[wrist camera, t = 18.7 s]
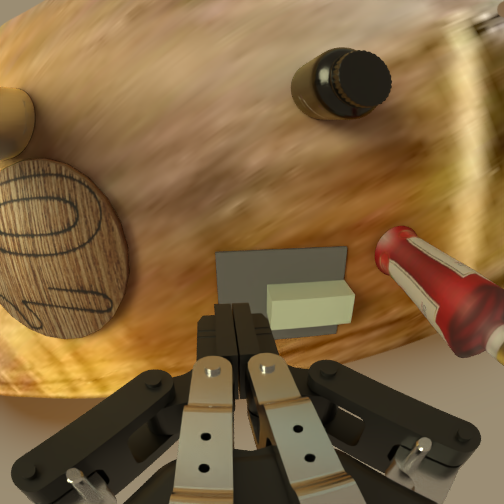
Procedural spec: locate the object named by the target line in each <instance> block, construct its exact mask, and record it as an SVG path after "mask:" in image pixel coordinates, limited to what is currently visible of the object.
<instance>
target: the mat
mask: <svg viewBox="0 0 504 504" xmlns="http://www.w3.org/2000/svg"><path fill="white" fill-rule="evenodd" d="M215 255H216V272H217V287H218V302H219V304H229V303H231V309H232V303H249V306H250V310H251V314H253V313H262V314H263V315H264V316H265V317H266V318H267V319H268V315H267V285H270V284H288V283H305V282H321V281H336V280H344V273H345V264H346V255H347V247H346V246H338V247H315V248H292V249H269V250H246V251H223V252H215ZM268 321H269V320H268ZM337 325H338V324H336V325H326V326H316V327H305V328H293V329H281V330H271V331H272V334H273V337H274V339H287V338H298V337H308V336H318V335H327V334H336V331H337Z"/></svg>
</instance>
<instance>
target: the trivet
mask: <svg viewBox="0 0 504 504" xmlns="http://www.w3.org/2000/svg"><path fill="white" fill-rule="evenodd" d="M128 276H129V257H128V245H127V242H126V239H125V236H124V232H123V229H122V225H121V222H120V220H119V218H118V216H117V215H116V213H115V211H114V209H113V207H112V206H111V204H110V202H109V200H108V198H107V197H106V196H105V195H104V194H103V193H102V191H101V190H100V189H99V188H98V187H97V186H96V185H95V184H94V183H93V182H92V180H91V179H90V178H89V177H87V176H86V175H84V174H82V173H81V172H79V171H78V170H76V169H75V168H73V167H72V166H70V165H69V164H65V163H62V162H58V161H55V160H51V159H48V158H45V159H30V160H24V161H20V162H18V163H16V164H14V165H11V166H9V167H7V168H5V169H3V170H2V171H1V172H0V304H1V305H2V306H3V307H4V308H5V310H6V311H7V312H8V313H9V314H10V315H11V316H12V317H14V318H15V319H16V320H18V321H19V322H20V323H22V324H23V325H25V326H26V327H28V328H29V329H31V330H34V331H36V332H38V333H41V334H43V335H45V336H49V337H55V338H61V339H72V338H81V337H85V336H87V335H89V334H91V333H94V332H96V331H98V330H100V329H101V328H102V327H103V326H104V325H105V324H106V323H107V322H108V321H109V320H110V319H111V318H112V317H113V315H114V314H115V312H116V310H117V308H118V306H119V304H120V302H121V301H122V299H123V297H124V295H125V291H126V286H127V281H128Z"/></svg>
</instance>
